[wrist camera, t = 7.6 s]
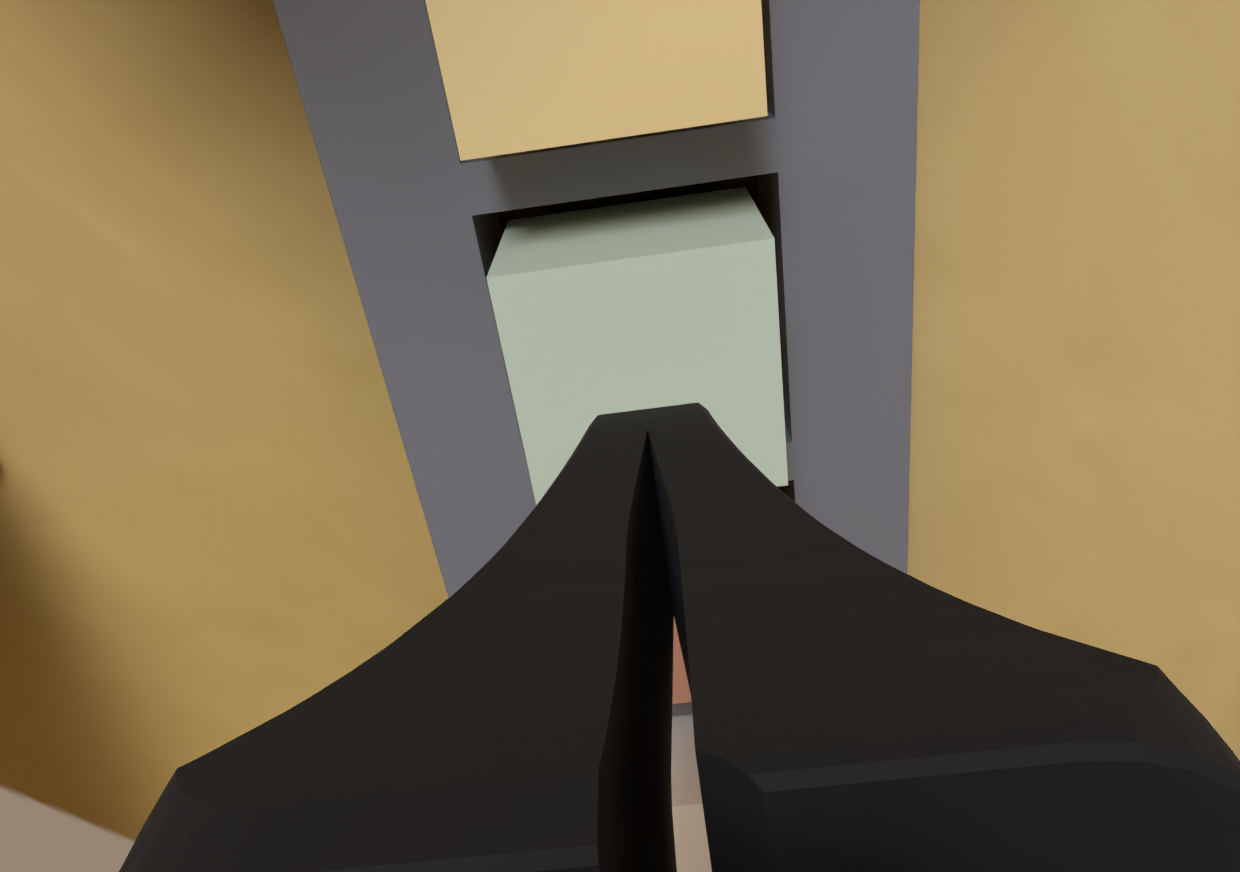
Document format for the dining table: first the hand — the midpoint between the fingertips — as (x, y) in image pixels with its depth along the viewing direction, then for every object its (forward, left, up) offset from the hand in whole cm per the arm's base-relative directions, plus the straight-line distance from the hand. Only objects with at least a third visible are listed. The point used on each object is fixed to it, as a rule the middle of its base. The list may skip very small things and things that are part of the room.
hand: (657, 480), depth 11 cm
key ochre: (0, +6, -6) cm, 8 cm away
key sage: (0, 0, -6) cm, 6 cm away
